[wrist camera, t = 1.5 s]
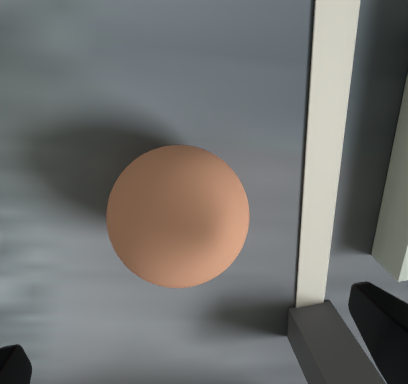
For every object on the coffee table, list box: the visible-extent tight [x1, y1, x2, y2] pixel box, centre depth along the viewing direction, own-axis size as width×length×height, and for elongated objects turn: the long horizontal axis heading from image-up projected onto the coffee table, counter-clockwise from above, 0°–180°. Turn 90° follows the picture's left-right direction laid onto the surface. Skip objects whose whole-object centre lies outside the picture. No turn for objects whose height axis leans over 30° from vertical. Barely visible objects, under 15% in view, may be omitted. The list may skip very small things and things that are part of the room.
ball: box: [106, 145, 249, 288], centre depth 13 cm, size 6×6×6 cm
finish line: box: [287, 0, 386, 384], centre depth 14 cm, size 27×3×6 cm, turn 5°
